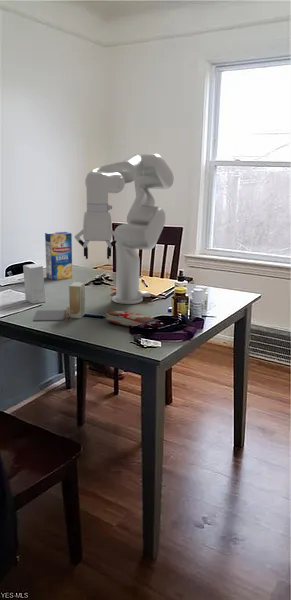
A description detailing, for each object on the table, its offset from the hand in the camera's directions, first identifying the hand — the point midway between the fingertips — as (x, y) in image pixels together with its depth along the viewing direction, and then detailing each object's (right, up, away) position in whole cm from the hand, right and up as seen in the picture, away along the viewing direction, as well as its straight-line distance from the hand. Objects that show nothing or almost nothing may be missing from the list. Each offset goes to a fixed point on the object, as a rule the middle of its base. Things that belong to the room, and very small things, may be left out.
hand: (97, 258), depth 176 cm
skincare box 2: (-8, -21, +5) cm, 23 cm away
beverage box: (-25, -4, +65) cm, 70 cm away
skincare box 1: (-28, -16, +23) cm, 40 cm away
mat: (-18, -21, +4) cm, 28 cm away
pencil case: (+13, -25, -5) cm, 28 cm away
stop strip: (-12, -21, +5) cm, 25 cm away
